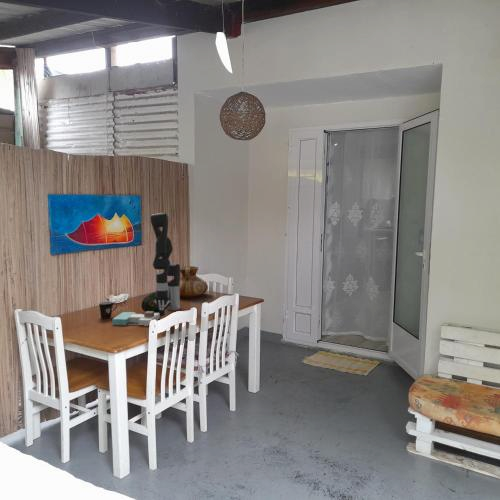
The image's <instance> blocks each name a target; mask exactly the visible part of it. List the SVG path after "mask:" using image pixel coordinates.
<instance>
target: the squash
mask: <svg viewBox="0 0 500 500" xmlns="http://www.w3.org/2000/svg"><path fill="white" fill-rule="evenodd" d="M155 299H156V291H155V292H151V293H150V294H147V296H145V297H144V298H143V299H142V302H141V309H142V311H143V312H144V313H145V312H146V311H154V313H160V310H159V309H157V308H156V307H155V306H154V304H153V303H152V302H153V301H155ZM156 302H157V301H156ZM157 304H158V303H157ZM158 306H159V304H158Z"/></svg>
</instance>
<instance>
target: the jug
mask: <svg viewBox="0 0 500 500" xmlns="http://www.w3.org/2000/svg"><path fill="white" fill-rule="evenodd" d="M198 270H199V267H198V266H189V265H187V266H180V274H181V276H180V299H197V298H199V296H200V297H201V296H203V295H204V294H206V292H208V290H209V286H208V284H207V282H206V281H205V280H204V279H202V278H200V277H198V276H197V273H198ZM196 297H197V298H196Z"/></svg>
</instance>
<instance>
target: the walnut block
mask: <svg viewBox="0 0 500 500" xmlns="http://www.w3.org/2000/svg"><path fill="white" fill-rule="evenodd" d="M154 313H155V312H154V311H146V312H145V311H144V313H143V314H144V317H153V316H154Z"/></svg>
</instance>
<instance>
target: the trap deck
mask: <svg viewBox="0 0 500 500" xmlns="http://www.w3.org/2000/svg"><path fill="white" fill-rule="evenodd" d="M159 318H161V315H160V312H156V313H155V312H154V316H153V317H144V313H137V312H134V311H133V312H132V311H122V312H121V313H119V314H118V315H116V316H114V318H112V325H113V326H134V325H144V326H143V327H149V326H148V325H149V322H150V321H151V320H153V319H156V320H157V321H159V320H160V319H159ZM158 319H159V320H158Z"/></svg>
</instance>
